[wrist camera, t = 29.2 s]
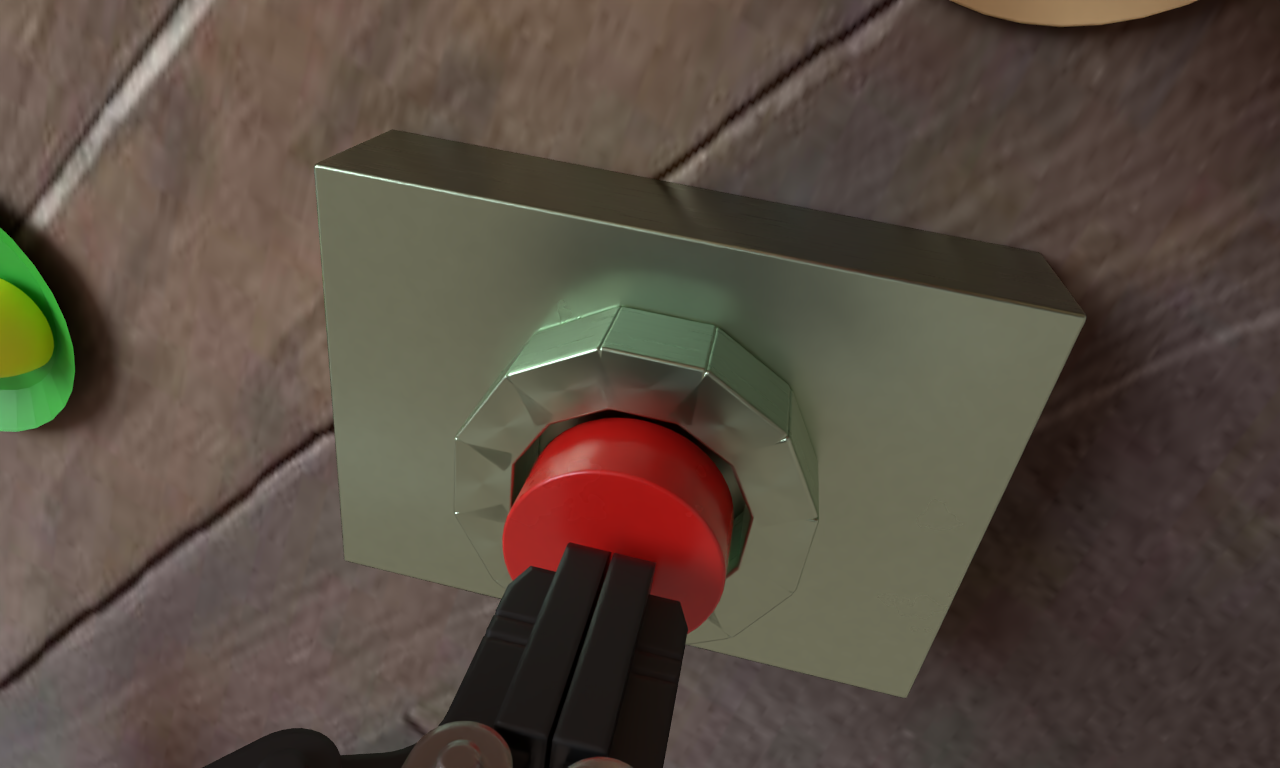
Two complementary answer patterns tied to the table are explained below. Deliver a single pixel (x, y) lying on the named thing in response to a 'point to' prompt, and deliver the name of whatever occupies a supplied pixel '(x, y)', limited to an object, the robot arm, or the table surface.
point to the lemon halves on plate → (30, 345)
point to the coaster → (1071, 10)
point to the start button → (628, 508)
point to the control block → (682, 381)
